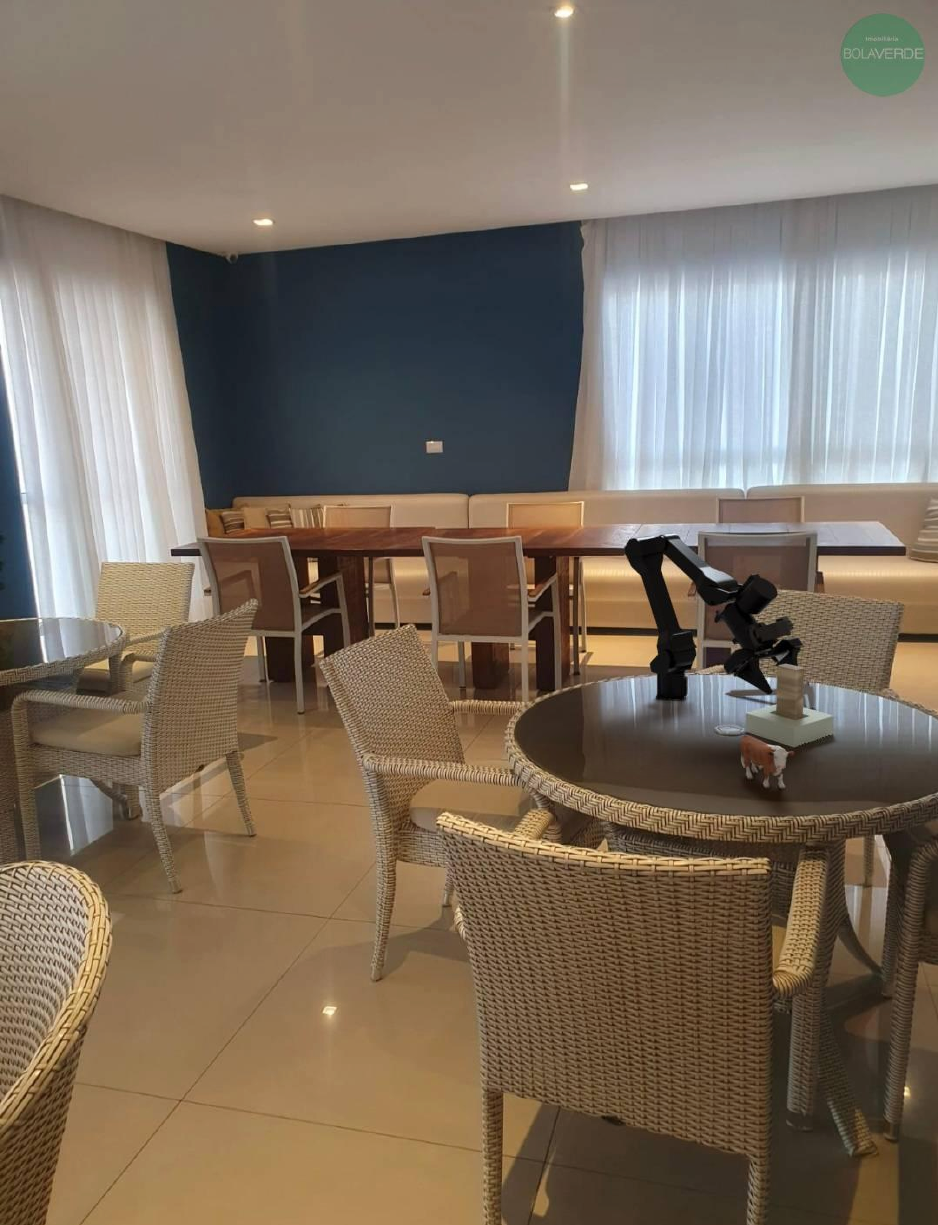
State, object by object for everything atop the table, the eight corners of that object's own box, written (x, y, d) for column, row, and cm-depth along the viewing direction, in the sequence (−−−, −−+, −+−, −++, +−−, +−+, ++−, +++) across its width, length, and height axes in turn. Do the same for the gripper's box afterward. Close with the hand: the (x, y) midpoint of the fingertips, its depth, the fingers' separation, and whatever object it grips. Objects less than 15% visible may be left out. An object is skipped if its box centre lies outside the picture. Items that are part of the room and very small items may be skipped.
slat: (794, 732, 176) (796, 670, 173) (775, 726, 179) (777, 665, 177) (802, 729, 177) (804, 667, 174) (783, 724, 181) (785, 663, 178)
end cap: (793, 747, 170) (794, 727, 169) (745, 731, 180) (745, 713, 180) (833, 734, 176) (833, 715, 176) (783, 719, 186) (784, 701, 186)
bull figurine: (776, 799, 147) (777, 753, 145) (734, 771, 160) (735, 728, 158) (799, 796, 148) (800, 750, 146) (756, 768, 161) (757, 726, 159)
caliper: (814, 708, 194) (815, 681, 193) (812, 709, 193) (813, 682, 192) (727, 694, 207) (727, 668, 206) (725, 695, 206) (725, 669, 205)
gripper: (735, 611, 174) (779, 676, 167) (797, 599, 183) (841, 660, 176) (705, 642, 182) (745, 706, 175) (765, 629, 191) (806, 689, 184)
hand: (786, 689), depth 177 cm, fingers open, 9 cm apart
